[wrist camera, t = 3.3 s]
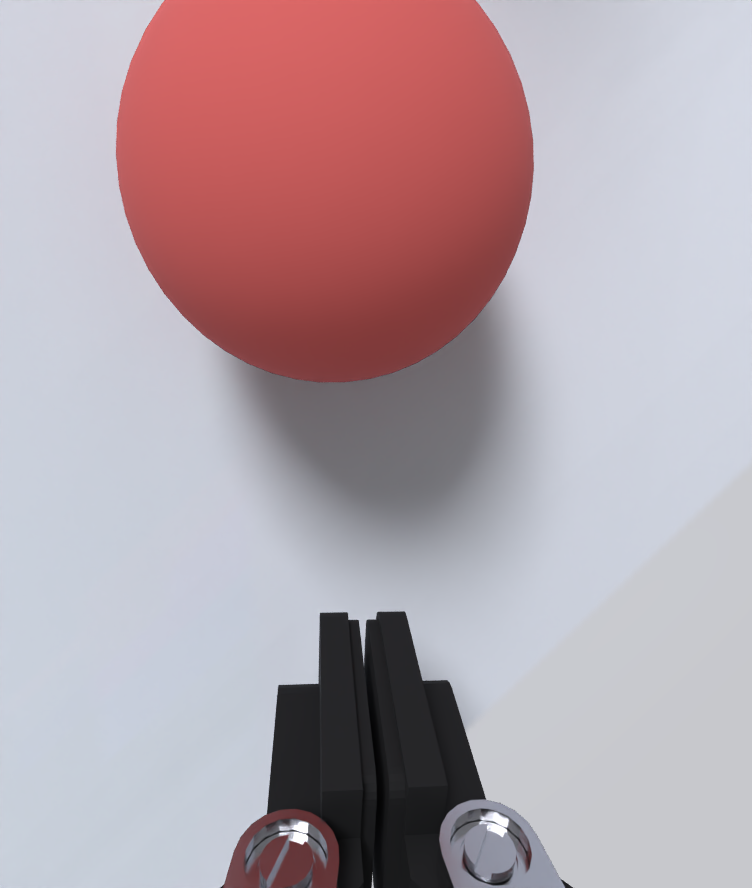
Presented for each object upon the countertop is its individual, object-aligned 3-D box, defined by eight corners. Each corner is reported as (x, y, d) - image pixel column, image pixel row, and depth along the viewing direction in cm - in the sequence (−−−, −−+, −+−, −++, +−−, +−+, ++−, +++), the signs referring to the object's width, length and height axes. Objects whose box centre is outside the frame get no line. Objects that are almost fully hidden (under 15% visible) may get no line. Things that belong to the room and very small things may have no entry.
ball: (498, 302, 13) (656, 333, 7) (236, 390, 13) (185, 493, 7) (423, -12, 11) (556, -311, 5) (115, 87, 11) (-90, -110, 5)
